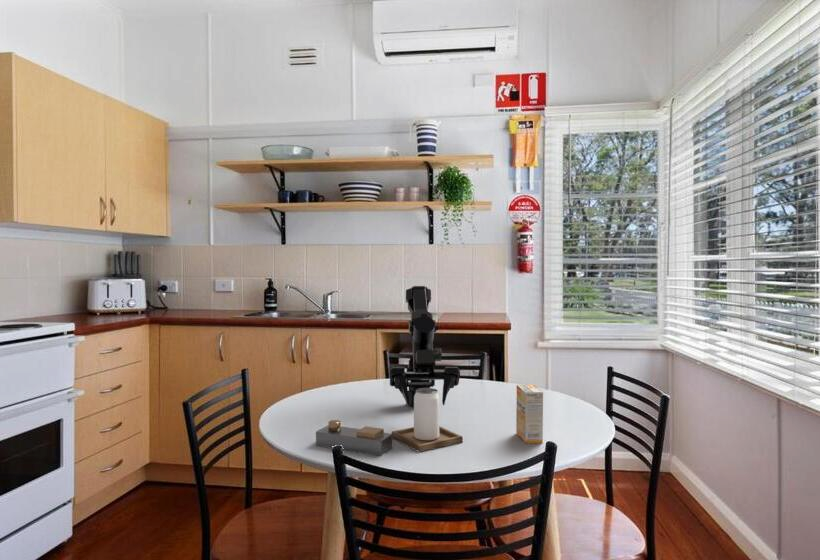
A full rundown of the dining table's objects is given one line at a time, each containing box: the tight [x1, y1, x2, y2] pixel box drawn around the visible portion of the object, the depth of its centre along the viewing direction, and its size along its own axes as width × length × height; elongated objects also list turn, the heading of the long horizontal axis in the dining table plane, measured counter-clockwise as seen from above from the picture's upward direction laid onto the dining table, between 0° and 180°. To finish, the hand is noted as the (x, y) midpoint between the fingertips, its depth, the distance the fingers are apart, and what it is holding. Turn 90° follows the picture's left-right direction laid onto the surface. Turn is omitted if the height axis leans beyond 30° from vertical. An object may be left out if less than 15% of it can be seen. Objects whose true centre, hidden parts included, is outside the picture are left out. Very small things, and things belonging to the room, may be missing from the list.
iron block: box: [315, 419, 393, 457], centre depth 130 cm, size 18×6×6 cm, turn 67°
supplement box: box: [515, 384, 544, 444], centre depth 137 cm, size 8×5×13 cm, turn 5°
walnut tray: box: [391, 425, 464, 453], centre depth 136 cm, size 13×13×2 cm
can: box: [413, 387, 440, 441], centre depth 136 cm, size 6×6×12 cm
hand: (426, 404), depth 138 cm, fingers open, 9 cm apart
